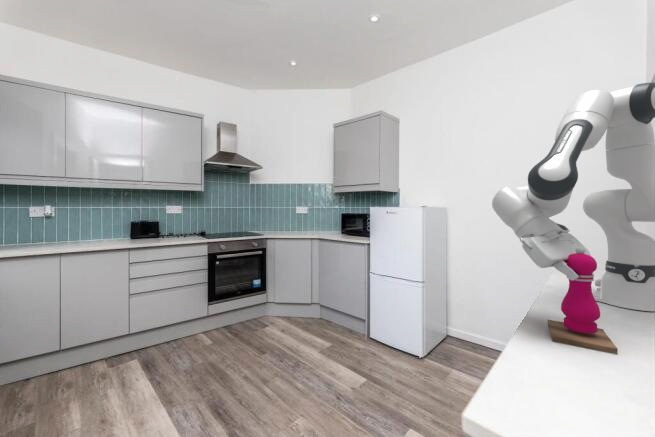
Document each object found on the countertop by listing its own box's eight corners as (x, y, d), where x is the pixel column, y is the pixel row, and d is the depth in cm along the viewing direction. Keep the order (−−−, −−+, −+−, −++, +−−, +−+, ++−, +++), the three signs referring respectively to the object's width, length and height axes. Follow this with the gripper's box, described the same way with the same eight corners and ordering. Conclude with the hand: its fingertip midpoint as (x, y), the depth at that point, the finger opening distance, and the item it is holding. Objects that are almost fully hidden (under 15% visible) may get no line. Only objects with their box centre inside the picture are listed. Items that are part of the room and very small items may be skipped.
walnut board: (547, 323, 78) (547, 319, 78) (602, 333, 72) (602, 328, 72) (552, 341, 67) (552, 336, 67) (617, 354, 61) (617, 349, 61)
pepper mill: (608, 335, 66) (609, 249, 65) (572, 333, 67) (572, 249, 66) (586, 323, 73) (586, 245, 72) (554, 321, 74) (554, 245, 74)
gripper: (526, 227, 71) (572, 274, 62) (568, 226, 80) (614, 266, 71) (507, 243, 75) (549, 289, 66) (550, 240, 84) (591, 280, 75)
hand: (583, 277), depth 69 cm, fingers closed on pepper mill, 5 cm apart
